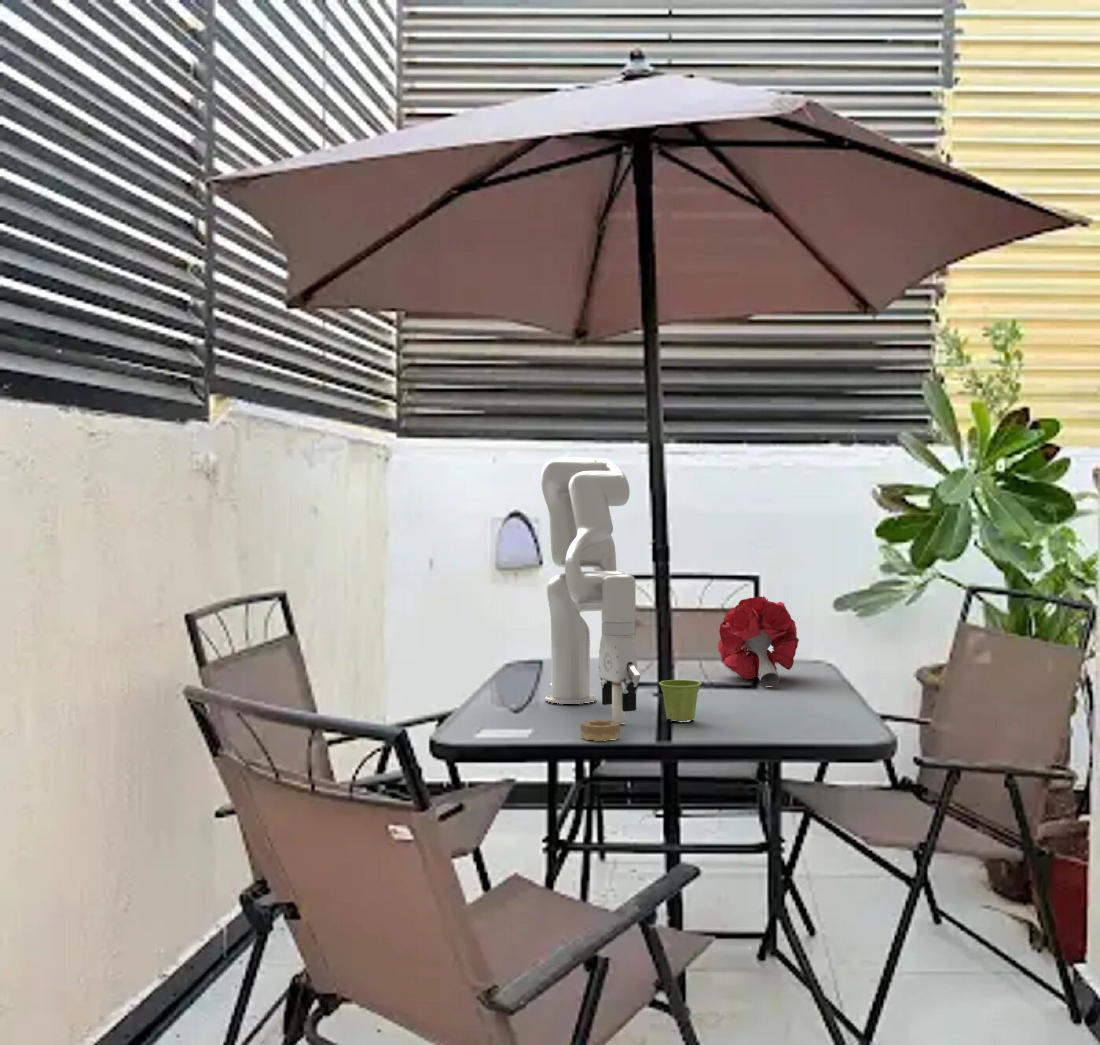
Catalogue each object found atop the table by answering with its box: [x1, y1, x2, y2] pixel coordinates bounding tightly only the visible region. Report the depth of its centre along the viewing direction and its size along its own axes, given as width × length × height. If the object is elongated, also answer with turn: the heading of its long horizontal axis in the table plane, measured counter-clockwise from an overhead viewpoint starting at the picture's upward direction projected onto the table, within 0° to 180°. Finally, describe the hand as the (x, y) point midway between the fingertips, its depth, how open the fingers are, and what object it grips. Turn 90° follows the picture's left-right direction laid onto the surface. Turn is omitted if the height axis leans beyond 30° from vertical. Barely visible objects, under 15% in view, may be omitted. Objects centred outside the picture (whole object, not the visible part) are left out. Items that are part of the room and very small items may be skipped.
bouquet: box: [717, 595, 800, 687], centre depth 327 cm, size 22×24×30 cm
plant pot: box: [658, 679, 702, 721], centre depth 268 cm, size 9×9×9 cm
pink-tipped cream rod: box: [611, 682, 627, 723], centre depth 265 cm, size 3×3×10 cm
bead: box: [580, 719, 621, 742], centre depth 249 cm, size 8×8×3 cm
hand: (618, 707), depth 265 cm, fingers open, 8 cm apart
